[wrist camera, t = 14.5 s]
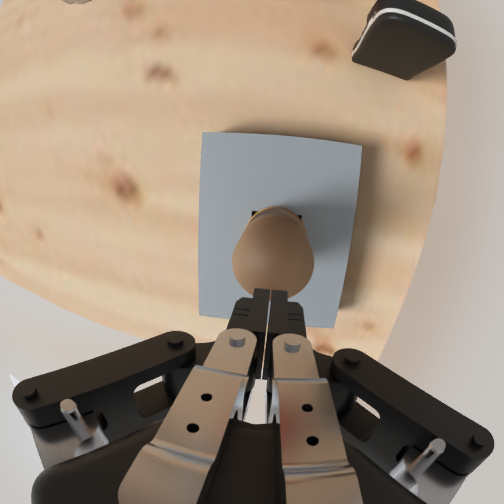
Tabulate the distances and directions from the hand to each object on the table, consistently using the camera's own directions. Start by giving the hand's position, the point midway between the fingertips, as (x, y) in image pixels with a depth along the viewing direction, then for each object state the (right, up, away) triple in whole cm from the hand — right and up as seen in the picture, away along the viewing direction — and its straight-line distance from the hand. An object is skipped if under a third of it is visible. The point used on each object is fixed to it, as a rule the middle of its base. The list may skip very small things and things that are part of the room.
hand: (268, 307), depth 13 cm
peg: (+2, +5, +15) cm, 16 cm away
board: (+2, +5, +15) cm, 16 cm away
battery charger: (+13, +23, +9) cm, 28 cm away
